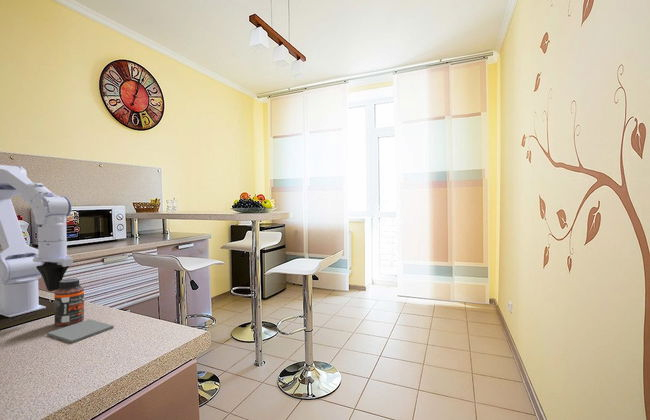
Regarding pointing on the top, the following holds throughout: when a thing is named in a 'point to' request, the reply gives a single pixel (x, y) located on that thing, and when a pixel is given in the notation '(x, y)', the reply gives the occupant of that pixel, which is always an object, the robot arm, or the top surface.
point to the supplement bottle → (69, 303)
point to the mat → (80, 330)
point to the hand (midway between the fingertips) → (53, 290)
